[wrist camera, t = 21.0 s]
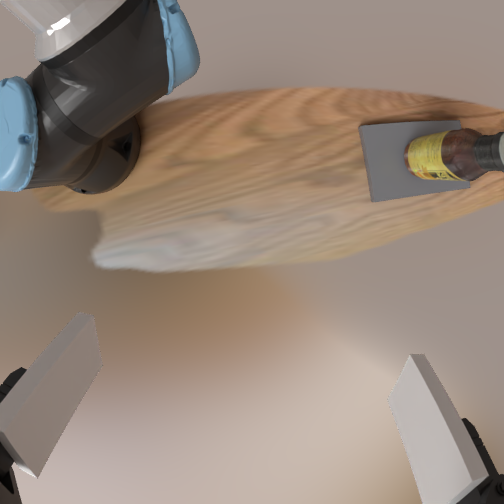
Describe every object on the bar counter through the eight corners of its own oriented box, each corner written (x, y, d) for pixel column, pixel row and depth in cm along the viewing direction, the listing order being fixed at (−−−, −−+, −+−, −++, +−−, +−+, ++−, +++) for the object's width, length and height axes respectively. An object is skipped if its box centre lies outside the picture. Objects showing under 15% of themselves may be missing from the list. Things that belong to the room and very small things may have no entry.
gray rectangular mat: (371, 201, 43) (374, 202, 42) (358, 127, 41) (361, 125, 39) (465, 187, 42) (470, 187, 40) (454, 121, 39) (459, 120, 38)
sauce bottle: (406, 182, 41) (493, 190, 21) (397, 140, 39) (480, 122, 20) (441, 175, 40) (531, 181, 21) (433, 135, 39) (521, 120, 19)
